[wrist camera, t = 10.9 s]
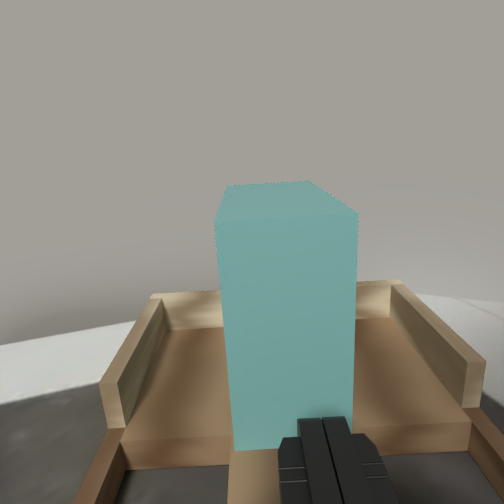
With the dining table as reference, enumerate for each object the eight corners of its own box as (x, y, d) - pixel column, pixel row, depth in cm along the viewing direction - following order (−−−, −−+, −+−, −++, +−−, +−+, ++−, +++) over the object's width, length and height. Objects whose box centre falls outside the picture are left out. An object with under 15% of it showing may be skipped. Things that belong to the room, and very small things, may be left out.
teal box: (310, 328, 30) (309, 180, 27) (351, 443, 19) (358, 212, 15) (238, 332, 30) (226, 185, 27) (234, 451, 19) (214, 221, 15)
